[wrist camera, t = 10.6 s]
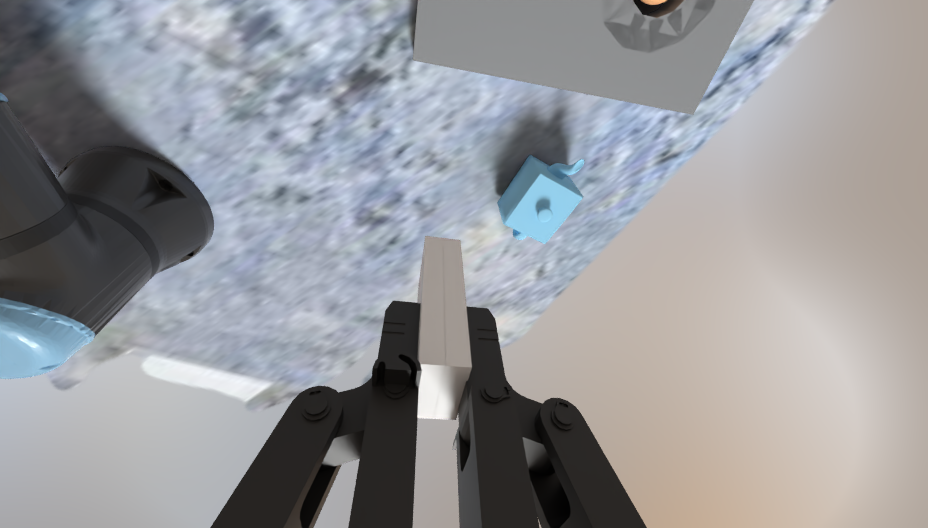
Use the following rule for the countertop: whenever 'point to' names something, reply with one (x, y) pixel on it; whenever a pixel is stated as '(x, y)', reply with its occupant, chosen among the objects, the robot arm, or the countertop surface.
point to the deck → (585, 44)
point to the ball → (653, 2)
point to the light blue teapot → (539, 199)
